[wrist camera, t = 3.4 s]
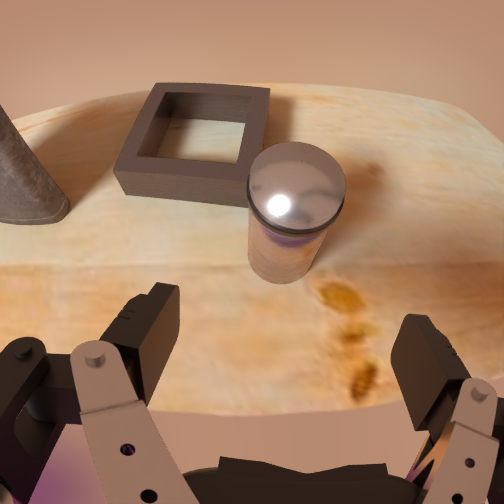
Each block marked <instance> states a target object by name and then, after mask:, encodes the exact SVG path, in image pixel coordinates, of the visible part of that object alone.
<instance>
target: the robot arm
mask: <svg viewBox="0 0 504 504" xmlns="http://www.w3.org/2000/svg"><path fill="white" fill-rule="evenodd" d="M179 326H180V292H179V286H178V285H172V284H165V283H159V282H157V283H156V284H155V285H154V286H153V288H152V289H151V291H150V292H149V293H148V295H145V294H139V295H137V296H136V297H134V298H132V299H130V300H129V301H128V302H127V304H126V305H125V306H124V308H123V310H121V311H120V313H119V314H118V315H117V317H116V318H115V319H114V320H113V322H112V323H111V324H110V326H109V327H108V328H107V330H106V331H105V332H104V333H103V335H102V336H101V337H100V339H99V340H94V341H88V342H85V343H82V344H80V345H79V346H77V347H76V348H75V349H74V350H73V352H72V353H71V354H50V353H47V352H46V348H45V345H44V344H43V342H42V341H41V340H39V339H37V338H34V337H22V338H18V339H16V340H14V341H12V342H10V343H9V344H8V345H7V346H6V347H5V348H4V349H3V351H2V352H1V353H0V504H28V502H29V500H30V497H31V496H32V493H33V491H34V489H35V487H36V484H37V482H38V480H39V478H40V475H41V473H42V471H43V469H44V467H45V465H46V463H47V461H48V459H49V457H50V455H51V452H52V451H53V449H54V447H55V444H56V443H57V441H58V439H59V437H60V435H61V433H62V431H63V429H64V427H65V425H66V424H79V425H83V428H84V432H85V436H86V439H87V443H88V446H89V449H90V452H91V455H92V459H93V462H94V464H95V468H96V471H97V474H98V476H99V479H100V482H101V485H102V488H103V490H104V493H105V495H106V498H107V500H108V503H109V504H485V501H486V497H487V499H488V503H489V504H504V398H499V397H497V393H496V391H495V390H494V388H493V387H492V386H491V385H490V384H489V383H487V382H486V381H484V380H481V379H478V378H472V377H471V376H470V374H469V372H468V371H467V369H466V367H465V366H464V364H463V363H462V361H461V359H460V358H459V356H457V353H456V351H455V350H454V348H452V345H451V343H450V342H449V340H448V339H447V337H446V336H444V335H443V334H442V333H441V332H440V331H439V330H437V329H436V328H435V326H434V325H433V323H432V322H431V320H430V319H429V317H428V316H427V315H417V314H407V315H406V316H405V318H404V320H403V323H402V325H401V328H400V330H399V333H398V336H397V338H396V341H395V343H394V345H393V348H392V351H391V365H392V368H393V370H394V373H395V376H396V378H397V381H398V384H399V386H400V389H401V392H402V395H403V397H404V400H405V403H406V406H407V408H408V411H409V415H410V417H411V420H412V423H413V426H414V429H415V431H424V430H428V431H429V433H430V434H429V435H428V436H427V438H426V439H425V441H424V443H423V445H422V447H421V449H420V451H419V453H418V455H417V457H416V459H415V461H414V463H413V466H412V467H411V469H410V471H409V473H408V475H407V476H406V478H405V479H403V478H400V477H397V476H393V475H389V474H388V471H387V467H386V464H385V463H383V464H366V465H347V466H343V467H339V468H334V469H330V470H325V471H321V472H316V473H310V474H308V473H307V474H306V473H301V472H297V471H294V470H290V469H286V468H283V467H279V466H276V465H272V464H269V463H265V462H260V461H251V460H243V459H235V458H228V457H222V456H221V457H220V460H219V465H218V467H213V468H204V469H198V470H194V471H189V472H187V473H184V474H181V472H180V470H179V469H178V467H177V465H176V464H175V462H174V460H173V458H172V456H171V454H170V453H169V451H168V449H167V447H166V445H165V443H164V441H163V439H162V437H161V436H160V434H159V432H158V430H157V428H156V426H155V424H154V422H153V420H152V418H151V415H150V413H149V411H148V409H147V406H148V404H149V401H150V399H151V397H152V395H153V392H154V390H155V388H156V385H157V383H158V381H159V379H160V376H161V374H162V372H163V370H164V367H165V365H166V363H167V361H168V358H169V356H170V354H171V352H172V350H173V347H174V345H175V343H176V341H177V338H178V333H179ZM23 407H24V408H23ZM21 410H22V411H21ZM19 413H20V414H19ZM17 416H18V417H17ZM16 418H17V419H16Z"/></svg>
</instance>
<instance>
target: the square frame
mask: <svg viewBox="0 0 504 504" xmlns="http://www.w3.org/2000/svg"><path fill="white" fill-rule="evenodd" d="M269 99H270V88H262V87H252V86H240V85H226V84H206V83H156V84H155V85H154V87H153V89H152V91H151V93H150V94H149V96H148V98H147V100H146V102H145V104H144V106H143V108H142V110H141V111H140V113H139V115H138V117H137V119H136V121H135V123H134V125H133V127H132V129H131V132H130V134H129V136H128V138H127V140H126V142H125V144H124V146H123V149H122V151H121V153H120V155H119V157H118V160H117V162H116V164H115V166H114V169H113V172H114V174H115V176H116V178H117V180H118V182H119V184H120V185H121V187H122V189H123V191H124V193H125V195H133V196H144V197H154V198H164V199H174V200H184V201H193V202H202V203H211V204H220V205H228V206H236V207H244V208H249V205H248V202H247V195H246V186H247V179H248V176H249V174H250V170H251V166H252V164H253V162H254V160H255V159H256V157H257V156H258V155H259V154H260V153H261V152H262V151H263V144H264V138H265V132H266V126H267V120H268V112H269ZM171 118H183V119H202V120H217V121H229V122H240V123H246V124H245V128H244V133H243V137H242V142H241V146H240V151H239V156H238V160H237V164H229V163H219V162H208V161H197V160H184V159H171V158H155V157H156V155H157V152H158V149H159V147H160V144H161V142H162V139H163V137H164V135H165V132H166V130H167V127H168V125H169V122H170V120H171Z"/></svg>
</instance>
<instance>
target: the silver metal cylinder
mask: <svg viewBox="0 0 504 504" xmlns="http://www.w3.org/2000/svg"><path fill="white" fill-rule="evenodd" d="M345 192H346V179H345V176H344V173H343V170H342V169H341V167H340V165H339V164H338V163H337V161H336V160H335V159H334V158H333V157H332V156H331V155H329V154H328V153H327V152H325V151H324V150H322V149H320V148H318V147H316V146H314V145H311V144H307V143H302V142H283V143H278V144H275V145H272V146H270V147H268V148H267V149H265V150H263V151H262V152H261V153H260V154H259V155H258V156H257V157H256V159H255V160H254V162H253V164H252V166H251V170H250V174H249V176H248V179H247V186H246V195H247V202H248V205H249V227H248V259H249V262H250V265H251V267H252V269H253V270H254V272H255V273H256V274H257V275H258V276H260V277H261V278H262V279H264V280H266V281H268V282H271V283H275V284H288V283H292V282H294V281H296V280H298V279H300V278H301V277H302V276H303V275H304V274H305V273H306V272H307V270H308V269H309V267H310V265H311V263H312V261H313V259H314V257H315V255H316V253H317V251H318V249H319V247H320V245H321V243H322V241H323V239H324V237H325V235H326V233H327V231H328V229H329V227H330V226H331V225H332V224H333V223H334V222H335V221H336V219H337V217H338V215H339V213H340V211H341V209H342V207H343V203H344V196H345Z"/></svg>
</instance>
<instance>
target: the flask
mask: <svg viewBox="0 0 504 504" xmlns="http://www.w3.org/2000/svg"><path fill="white" fill-rule="evenodd" d="M69 207H70V203H69V200H68V198H67V197H66V196H65V195H64V193H63V192H62V191H61V190H60V188H59V187H58V186H57V184H56V183H55V182H54V181H53V179H52V178H51V177H50V175H49V174H48V173H47V171H46V170H45V169H44V167H43V166H42V165H41V163H40V162H39V161H38V159H37V158H36V156H35V155H34V154H33V152H32V151H31V149H30V148H29V147H28V145H27V144H26V142H25V141H24V140H23V138H22V137H21V135H20V134H19V132H18V131H17V129H16V128H15V126H14V125H13V123H12V122H11V120H10V119H9V117H8V116H7V114H6V113H5V111H4V110H3V108H2V107H1V105H0V222H2V223H8V224H16V225H42V224H52V223H57V222H59V221H61V220H62V219H63V218H64V217H65V216H66V214H67V213H68V211H69Z"/></svg>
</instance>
